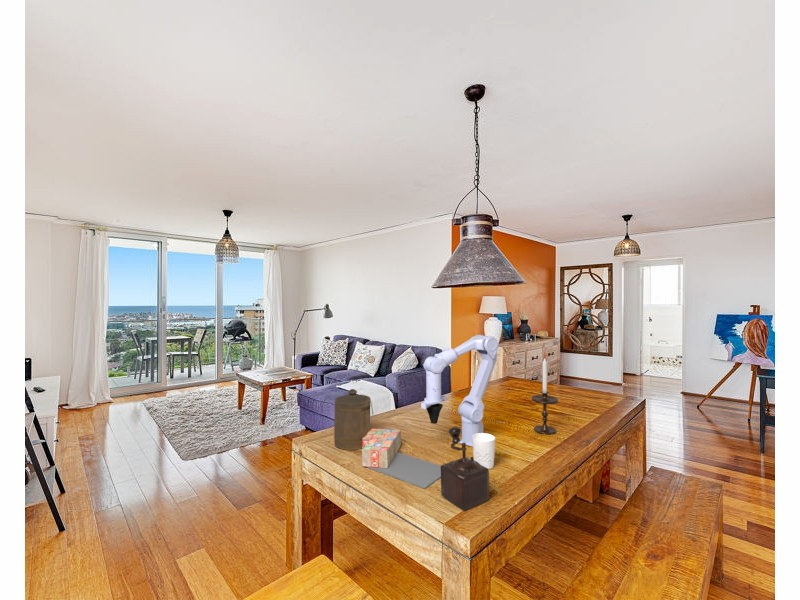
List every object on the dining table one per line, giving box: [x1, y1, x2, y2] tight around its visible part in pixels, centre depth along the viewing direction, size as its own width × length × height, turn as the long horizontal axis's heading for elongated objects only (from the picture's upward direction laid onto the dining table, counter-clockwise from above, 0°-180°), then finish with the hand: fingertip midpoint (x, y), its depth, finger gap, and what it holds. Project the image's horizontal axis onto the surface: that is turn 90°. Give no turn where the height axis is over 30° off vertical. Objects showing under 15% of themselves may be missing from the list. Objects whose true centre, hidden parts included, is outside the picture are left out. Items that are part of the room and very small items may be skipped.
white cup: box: [472, 432, 496, 470], centre depth 134 cm, size 8×8×10 cm
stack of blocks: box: [361, 428, 402, 468], centre depth 143 cm, size 21×6×12 cm
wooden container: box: [333, 388, 372, 451], centre depth 155 cm, size 15×15×22 cm
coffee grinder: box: [440, 426, 490, 512], centre depth 115 cm, size 16×11×18 cm
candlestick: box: [531, 352, 559, 436], centre depth 166 cm, size 11×11×35 cm
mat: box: [367, 451, 441, 490], centre depth 131 cm, size 16×24×1 cm, turn 52°
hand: (434, 423), depth 147 cm, fingers closed
